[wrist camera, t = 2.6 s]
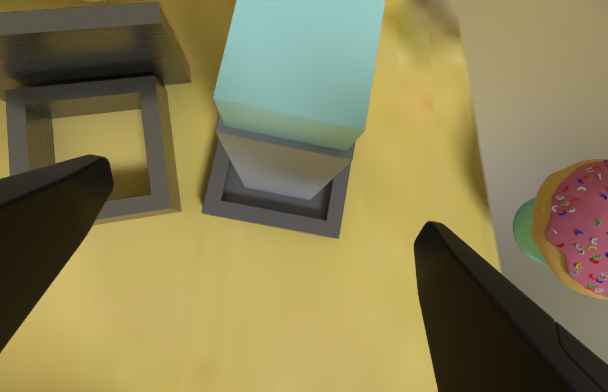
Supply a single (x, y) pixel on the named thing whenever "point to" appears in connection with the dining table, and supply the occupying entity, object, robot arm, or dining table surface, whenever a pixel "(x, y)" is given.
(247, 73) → the plug
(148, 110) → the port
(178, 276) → the dining table surface
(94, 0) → the white muffin tray
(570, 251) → the cupcake
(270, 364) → the dining table surface
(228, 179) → the tray
